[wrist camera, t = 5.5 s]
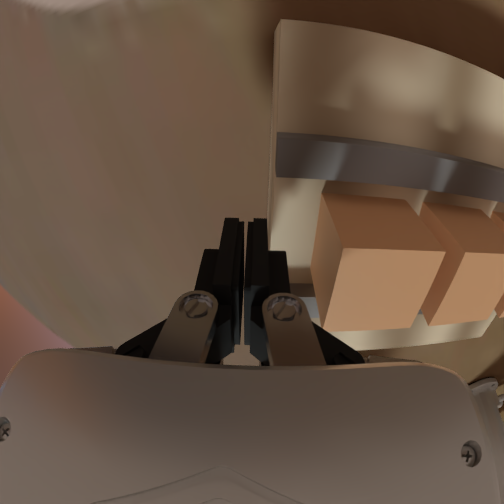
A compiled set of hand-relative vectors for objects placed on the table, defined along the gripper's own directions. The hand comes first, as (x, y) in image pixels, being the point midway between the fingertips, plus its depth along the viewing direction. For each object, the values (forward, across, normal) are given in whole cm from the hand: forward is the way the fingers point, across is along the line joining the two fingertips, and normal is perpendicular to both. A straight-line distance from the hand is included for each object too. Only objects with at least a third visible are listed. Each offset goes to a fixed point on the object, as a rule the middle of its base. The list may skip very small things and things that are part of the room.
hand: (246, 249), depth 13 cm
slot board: (+6, -10, 0) cm, 12 cm away
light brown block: (+1, -10, 0) cm, 10 cm away
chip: (+1, -5, 0) cm, 5 cm away
